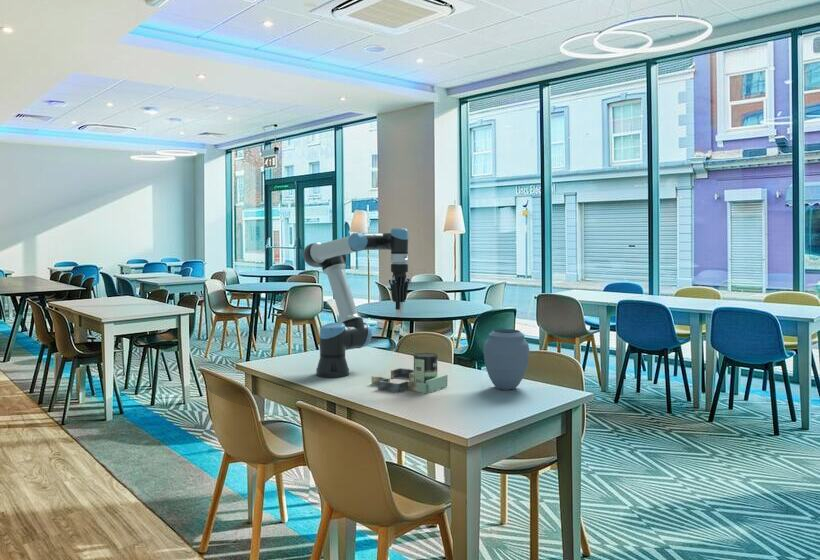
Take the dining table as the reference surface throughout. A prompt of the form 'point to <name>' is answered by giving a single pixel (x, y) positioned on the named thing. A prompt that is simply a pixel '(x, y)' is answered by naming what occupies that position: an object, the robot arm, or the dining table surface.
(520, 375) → the vase
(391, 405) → the dining table surface
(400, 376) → the mats
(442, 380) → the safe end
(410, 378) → the channel
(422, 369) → the coffee can
